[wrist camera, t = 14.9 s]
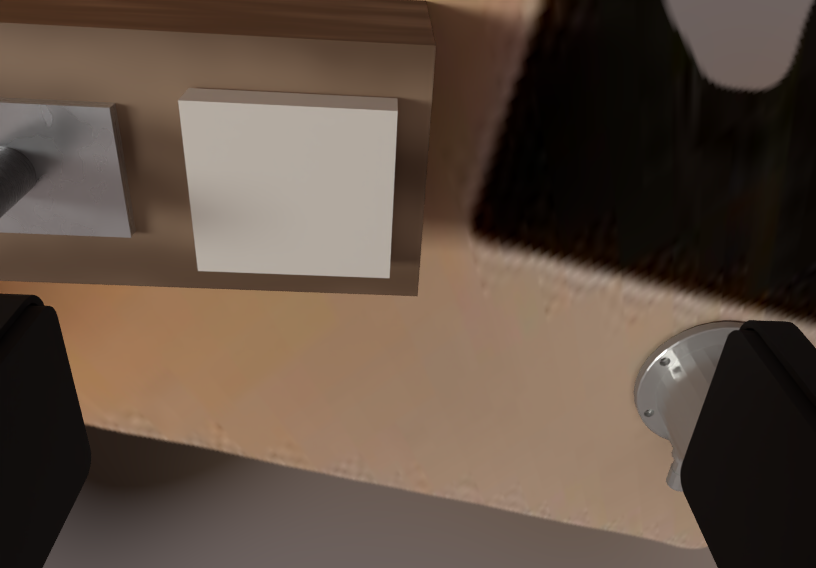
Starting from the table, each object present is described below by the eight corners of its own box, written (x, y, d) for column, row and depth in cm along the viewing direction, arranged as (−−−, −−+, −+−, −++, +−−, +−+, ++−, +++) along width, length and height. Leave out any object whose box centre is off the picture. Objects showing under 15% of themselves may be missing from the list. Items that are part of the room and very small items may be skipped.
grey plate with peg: (135, 231, 38) (53, 351, 29) (2, 225, 37) (-125, 345, 28) (115, 103, 34) (12, 193, 25) (-33, 95, 34) (-192, 185, 25)
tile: (207, 249, 38) (389, 257, 39) (197, 270, 37) (389, 278, 37) (190, 86, 34) (397, 96, 34) (177, 100, 32) (397, 110, 32)
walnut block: (412, 206, 51) (417, 296, 40) (15, 190, 49) (-84, 277, 39) (425, 0, 43) (435, 45, 33) (-40, -26, 42) (-179, 12, 32)
